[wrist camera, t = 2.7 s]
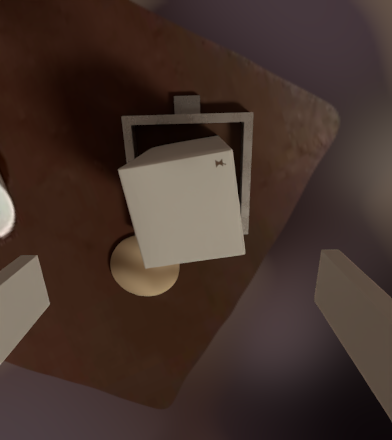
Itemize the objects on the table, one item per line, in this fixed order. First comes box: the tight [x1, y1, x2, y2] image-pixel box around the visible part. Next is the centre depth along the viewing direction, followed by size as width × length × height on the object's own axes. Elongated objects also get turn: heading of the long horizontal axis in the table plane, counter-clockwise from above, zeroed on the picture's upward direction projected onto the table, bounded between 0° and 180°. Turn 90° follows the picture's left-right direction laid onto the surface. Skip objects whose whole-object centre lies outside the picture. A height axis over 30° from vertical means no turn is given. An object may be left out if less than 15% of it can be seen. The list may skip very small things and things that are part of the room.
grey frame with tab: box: [121, 95, 253, 237], centre depth 34 cm, size 19×15×2 cm
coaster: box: [110, 235, 179, 296], centre depth 39 cm, size 10×10×1 cm
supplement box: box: [118, 136, 245, 269], centre depth 28 cm, size 9×9×15 cm
